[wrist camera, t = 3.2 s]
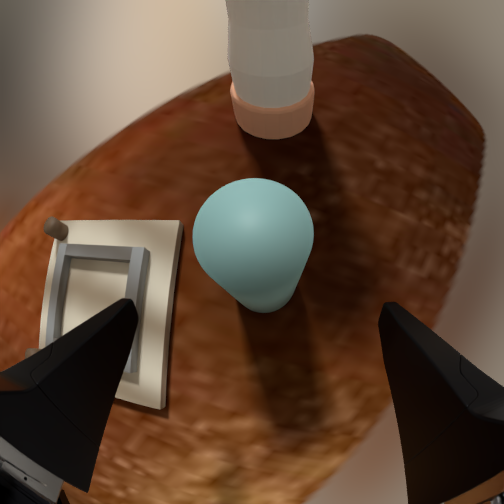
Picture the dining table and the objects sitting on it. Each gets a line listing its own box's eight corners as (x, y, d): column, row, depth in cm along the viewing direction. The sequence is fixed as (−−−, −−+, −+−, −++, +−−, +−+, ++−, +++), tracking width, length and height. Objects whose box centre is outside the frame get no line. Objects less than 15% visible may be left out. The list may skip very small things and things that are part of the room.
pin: (293, 314, 19) (312, 295, 9) (230, 310, 19) (185, 287, 10) (296, 252, 20) (313, 180, 10) (235, 250, 20) (201, 177, 11)
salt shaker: (319, 136, 23) (343, -77, 4) (237, 144, 23) (188, -74, 5) (303, 86, 25) (307, -83, 7) (233, 92, 25) (198, -77, 7)
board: (165, 406, 17) (148, 416, 15) (45, 366, 19) (23, 367, 16) (183, 225, 21) (170, 209, 18) (65, 224, 23) (46, 212, 20)
